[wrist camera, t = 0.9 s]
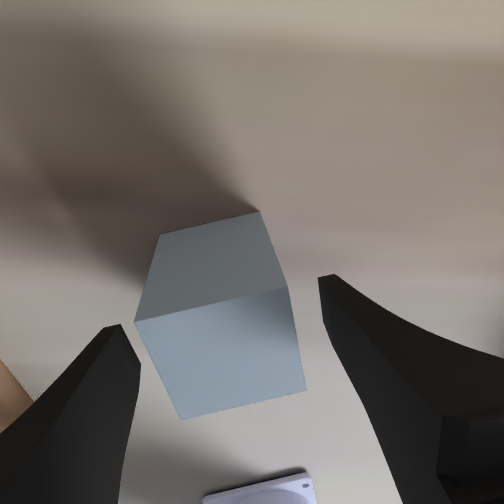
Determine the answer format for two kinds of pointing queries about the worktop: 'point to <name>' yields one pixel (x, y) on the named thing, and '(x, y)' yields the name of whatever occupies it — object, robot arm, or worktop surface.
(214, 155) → the worktop surface
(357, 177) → the worktop surface
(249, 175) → the worktop surface
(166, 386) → the slate block
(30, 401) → the tan flat square block
